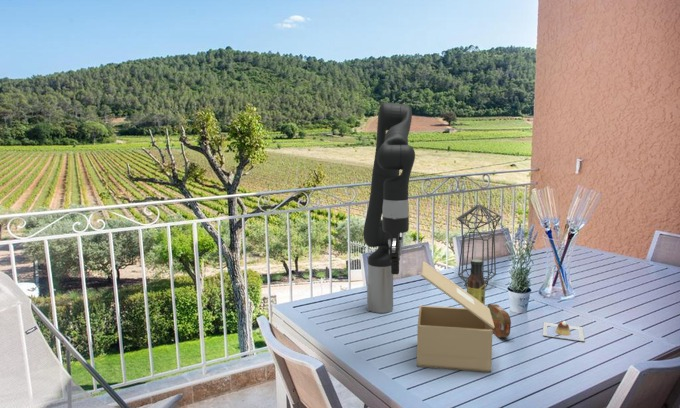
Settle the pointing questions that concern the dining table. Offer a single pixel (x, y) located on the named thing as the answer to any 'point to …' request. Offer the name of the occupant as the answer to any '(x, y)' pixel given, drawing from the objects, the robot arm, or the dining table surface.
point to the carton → (453, 339)
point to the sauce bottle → (476, 281)
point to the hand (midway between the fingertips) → (395, 273)
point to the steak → (500, 320)
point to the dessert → (563, 330)
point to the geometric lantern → (478, 239)
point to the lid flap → (457, 293)
